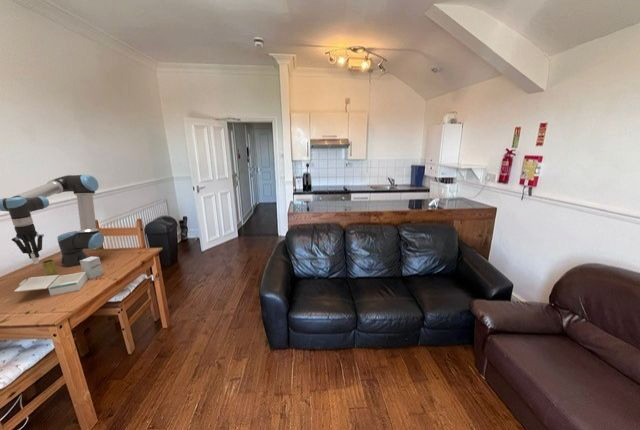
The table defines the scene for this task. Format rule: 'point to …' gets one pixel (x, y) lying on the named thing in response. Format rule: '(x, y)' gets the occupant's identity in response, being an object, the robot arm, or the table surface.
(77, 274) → the box
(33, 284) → the lid
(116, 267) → the table surface
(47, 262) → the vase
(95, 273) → the supplement box
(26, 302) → the table surface
